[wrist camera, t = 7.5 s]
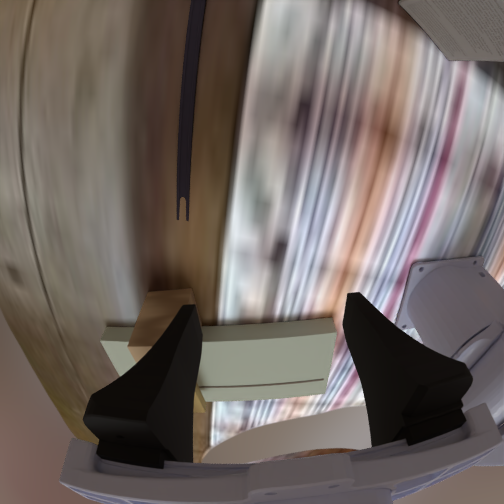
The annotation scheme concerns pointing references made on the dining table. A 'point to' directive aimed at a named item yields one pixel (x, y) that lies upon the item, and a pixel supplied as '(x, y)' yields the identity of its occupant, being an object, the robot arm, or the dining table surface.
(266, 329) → the board
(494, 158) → the dining table surface
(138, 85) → the dining table surface
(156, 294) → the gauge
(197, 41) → the bar clamp
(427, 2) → the skincare box
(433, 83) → the dining table surface
